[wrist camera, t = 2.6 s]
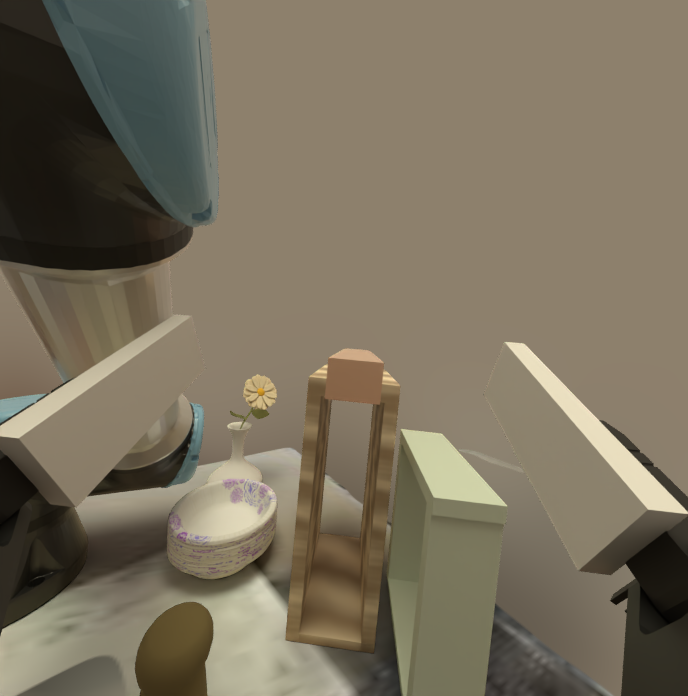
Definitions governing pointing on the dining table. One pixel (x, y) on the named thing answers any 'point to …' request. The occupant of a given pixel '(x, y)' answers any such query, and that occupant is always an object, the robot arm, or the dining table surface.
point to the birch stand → (334, 550)
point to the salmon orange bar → (354, 377)
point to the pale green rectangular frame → (442, 568)
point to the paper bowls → (221, 527)
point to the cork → (175, 652)
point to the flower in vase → (260, 398)
